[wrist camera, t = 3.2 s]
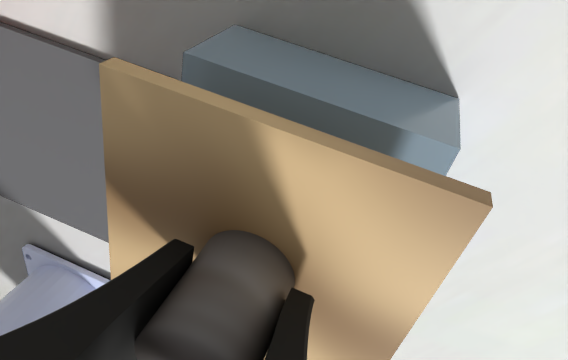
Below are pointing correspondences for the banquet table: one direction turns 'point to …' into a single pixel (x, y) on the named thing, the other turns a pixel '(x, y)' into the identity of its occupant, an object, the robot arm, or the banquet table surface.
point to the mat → (52, 130)
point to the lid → (271, 223)
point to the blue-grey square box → (329, 96)
